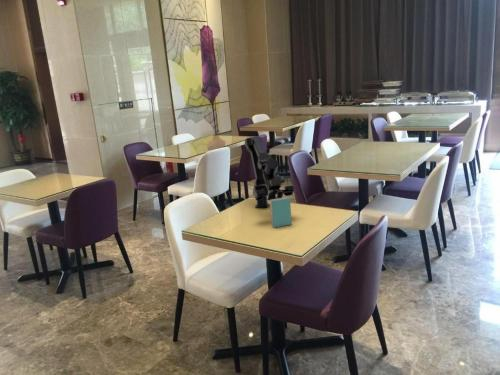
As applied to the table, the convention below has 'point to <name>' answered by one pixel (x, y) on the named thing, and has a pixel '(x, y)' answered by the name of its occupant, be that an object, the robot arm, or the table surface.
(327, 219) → the table surface
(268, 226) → the table surface
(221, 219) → the table surface
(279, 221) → the tile
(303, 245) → the table surface
